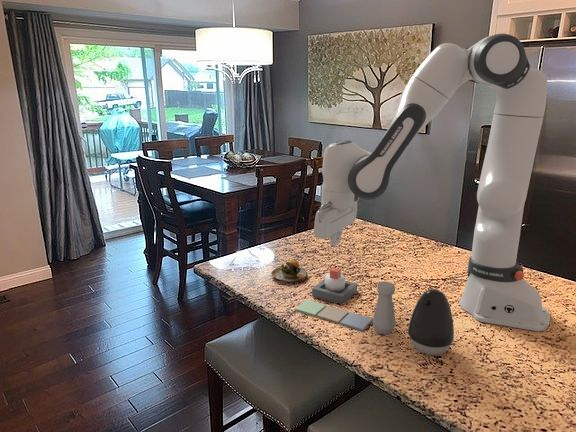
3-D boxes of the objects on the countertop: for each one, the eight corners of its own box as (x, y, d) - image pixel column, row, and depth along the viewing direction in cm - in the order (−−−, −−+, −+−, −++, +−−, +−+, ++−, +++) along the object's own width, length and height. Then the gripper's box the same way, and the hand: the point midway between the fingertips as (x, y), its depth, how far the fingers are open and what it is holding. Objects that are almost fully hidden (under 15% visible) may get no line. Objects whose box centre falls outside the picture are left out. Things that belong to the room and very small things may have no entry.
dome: (348, 286, 131) (348, 268, 130) (339, 294, 126) (340, 275, 125) (330, 282, 134) (331, 264, 133) (321, 289, 130) (321, 270, 128)
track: (372, 320, 116) (372, 318, 116) (362, 331, 111) (362, 329, 110) (306, 301, 126) (306, 299, 126) (294, 310, 121) (294, 308, 121)
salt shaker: (393, 325, 113) (397, 279, 110) (396, 337, 108) (400, 289, 104) (371, 324, 114) (373, 278, 110) (372, 336, 108) (375, 288, 105)
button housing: (356, 291, 132) (357, 283, 132) (342, 304, 124) (342, 296, 124) (327, 283, 138) (327, 276, 137) (312, 296, 130) (312, 288, 129)
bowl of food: (266, 273, 146) (266, 252, 144) (299, 268, 150) (299, 248, 148) (279, 288, 135) (278, 265, 133) (313, 282, 140) (313, 260, 137)
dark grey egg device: (398, 348, 103) (402, 290, 99) (420, 332, 110) (425, 276, 106) (438, 367, 96) (445, 305, 92) (459, 348, 103) (466, 290, 99)
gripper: (329, 208, 113) (327, 258, 117) (361, 193, 129) (359, 237, 133) (308, 204, 116) (307, 253, 120) (342, 190, 132) (340, 233, 136)
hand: (334, 244), depth 127 cm, fingers closed
